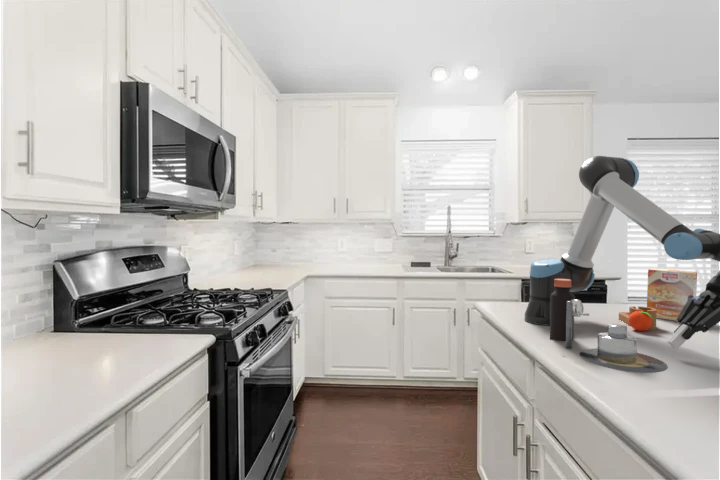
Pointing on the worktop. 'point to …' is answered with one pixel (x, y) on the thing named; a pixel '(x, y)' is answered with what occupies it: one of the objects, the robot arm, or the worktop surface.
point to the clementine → (640, 320)
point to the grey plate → (642, 365)
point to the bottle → (560, 309)
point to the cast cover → (617, 345)
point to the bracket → (625, 315)
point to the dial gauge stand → (574, 310)
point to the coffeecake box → (670, 291)
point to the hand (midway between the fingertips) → (672, 345)
